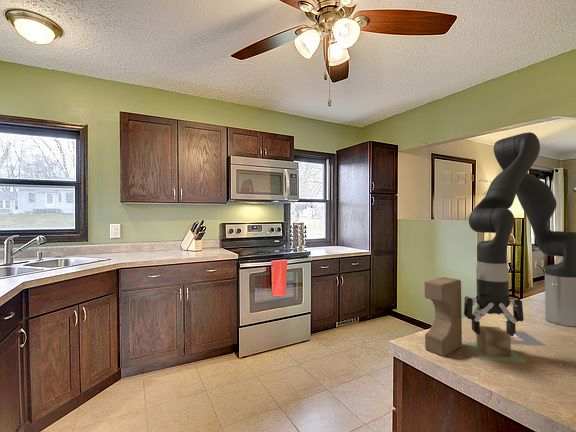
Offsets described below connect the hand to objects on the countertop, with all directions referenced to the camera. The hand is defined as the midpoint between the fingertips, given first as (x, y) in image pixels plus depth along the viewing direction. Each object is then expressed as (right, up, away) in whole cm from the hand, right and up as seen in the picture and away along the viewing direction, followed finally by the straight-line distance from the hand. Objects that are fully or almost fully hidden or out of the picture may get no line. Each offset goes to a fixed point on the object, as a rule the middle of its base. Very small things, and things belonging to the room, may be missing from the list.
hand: (493, 334), depth 81 cm
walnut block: (0, -5, 0) cm, 5 cm away
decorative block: (-13, -5, +2) cm, 14 cm away
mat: (0, -5, 0) cm, 5 cm away
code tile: (+14, -5, +10) cm, 18 cm away
